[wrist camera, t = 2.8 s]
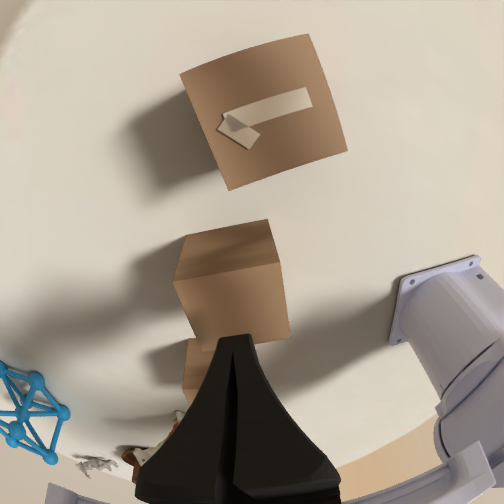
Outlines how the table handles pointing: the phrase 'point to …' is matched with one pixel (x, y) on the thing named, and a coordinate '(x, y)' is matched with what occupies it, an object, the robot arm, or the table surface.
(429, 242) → the table surface
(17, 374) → the molecular structure
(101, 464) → the soldier figure
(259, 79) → the cube one
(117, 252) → the table surface
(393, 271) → the table surface
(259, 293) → the plain cube
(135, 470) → the cup and saucer
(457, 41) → the table surface
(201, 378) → the cube seven
